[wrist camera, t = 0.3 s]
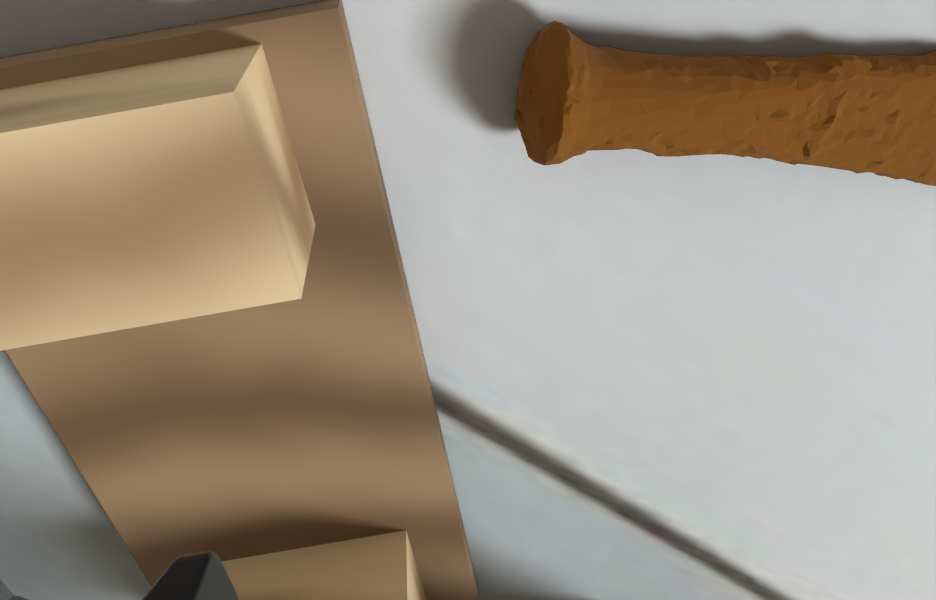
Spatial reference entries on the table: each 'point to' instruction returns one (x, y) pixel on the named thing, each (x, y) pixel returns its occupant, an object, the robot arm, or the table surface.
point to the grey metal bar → (7, 593)
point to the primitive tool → (730, 106)
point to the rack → (226, 307)
